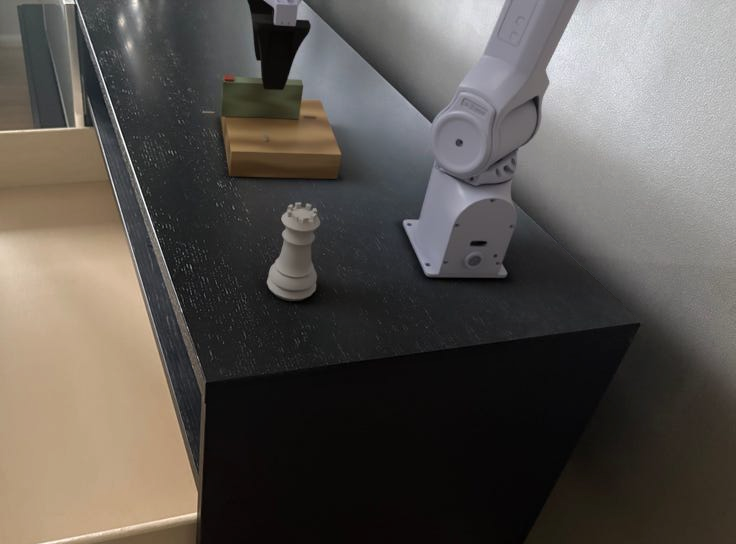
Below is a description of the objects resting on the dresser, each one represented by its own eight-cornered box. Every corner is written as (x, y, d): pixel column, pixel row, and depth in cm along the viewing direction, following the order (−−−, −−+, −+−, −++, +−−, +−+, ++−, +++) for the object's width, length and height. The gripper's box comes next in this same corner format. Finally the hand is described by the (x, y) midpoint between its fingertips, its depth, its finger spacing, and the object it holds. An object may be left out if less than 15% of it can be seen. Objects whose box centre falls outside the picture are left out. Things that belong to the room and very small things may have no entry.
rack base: (337, 179, 83) (342, 153, 81) (205, 176, 82) (206, 148, 79) (315, 117, 95) (318, 93, 93) (198, 113, 93) (199, 88, 91)
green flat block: (297, 113, 88) (301, 77, 85) (299, 119, 87) (303, 83, 84) (220, 110, 87) (222, 73, 84) (221, 116, 86) (223, 79, 83)
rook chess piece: (325, 289, 68) (340, 212, 63) (293, 309, 65) (305, 231, 60) (288, 267, 70) (299, 190, 65) (255, 286, 67) (264, 208, 62)
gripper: (234, -91, 76) (226, 46, 85) (247, -53, 65) (237, 100, 74) (303, -86, 77) (288, 49, 86) (327, -47, 66) (307, 103, 75)
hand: (269, 73), depth 80 cm, fingers open, 7 cm apart
